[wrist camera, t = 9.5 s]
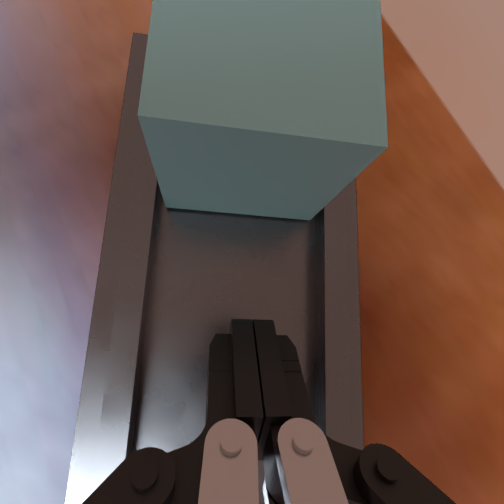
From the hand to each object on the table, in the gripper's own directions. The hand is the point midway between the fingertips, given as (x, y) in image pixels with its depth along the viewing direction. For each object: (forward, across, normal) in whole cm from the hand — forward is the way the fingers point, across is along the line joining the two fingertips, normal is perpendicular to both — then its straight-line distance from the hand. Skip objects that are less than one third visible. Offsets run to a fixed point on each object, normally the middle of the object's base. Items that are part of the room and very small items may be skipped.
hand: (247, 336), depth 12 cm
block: (+10, 0, -3) cm, 11 cm away
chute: (+6, 0, +2) cm, 7 cm away
